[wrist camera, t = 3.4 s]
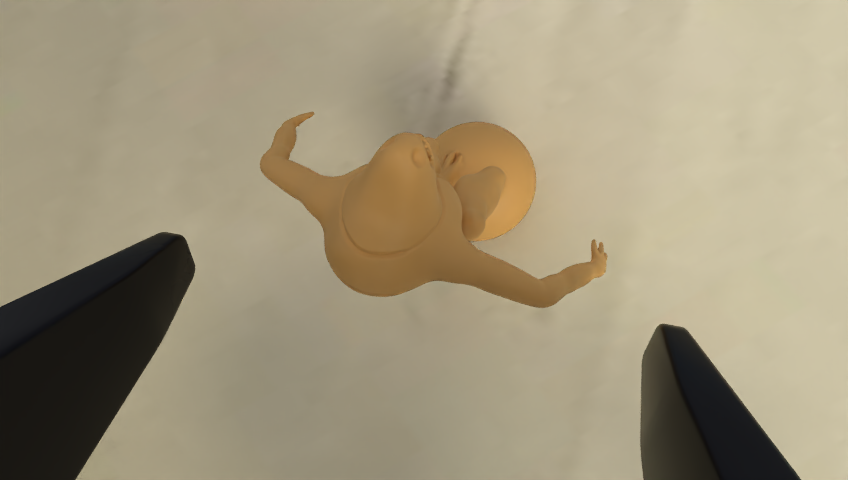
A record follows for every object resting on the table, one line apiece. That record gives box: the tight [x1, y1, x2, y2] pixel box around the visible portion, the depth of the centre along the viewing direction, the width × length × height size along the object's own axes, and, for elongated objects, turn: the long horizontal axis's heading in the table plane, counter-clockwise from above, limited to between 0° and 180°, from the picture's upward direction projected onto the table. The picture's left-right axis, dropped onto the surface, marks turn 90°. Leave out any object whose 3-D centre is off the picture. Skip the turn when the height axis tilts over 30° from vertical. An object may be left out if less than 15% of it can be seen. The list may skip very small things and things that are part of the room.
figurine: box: [260, 112, 607, 308], centre depth 14 cm, size 8×6×12 cm
